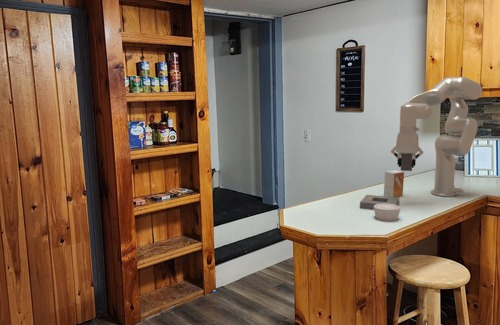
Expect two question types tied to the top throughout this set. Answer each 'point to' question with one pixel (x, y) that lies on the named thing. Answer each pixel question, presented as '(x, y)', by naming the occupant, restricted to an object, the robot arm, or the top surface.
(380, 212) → the ramekin
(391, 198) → the socket block
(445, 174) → the robot arm
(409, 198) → the top surface
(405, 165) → the plug
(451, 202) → the top surface
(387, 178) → the small box
